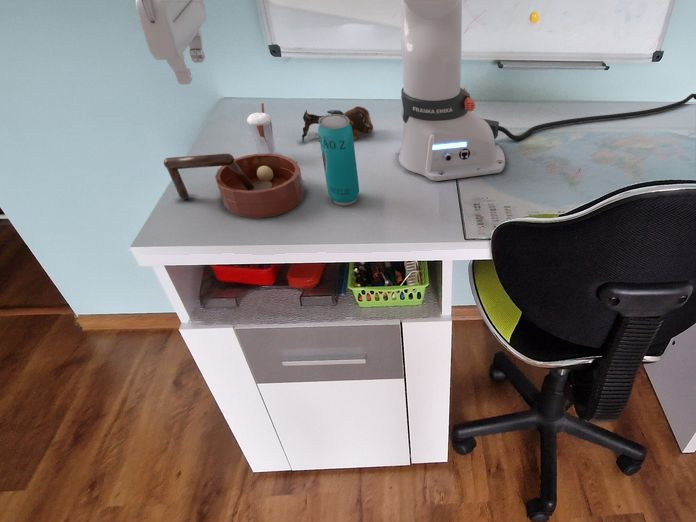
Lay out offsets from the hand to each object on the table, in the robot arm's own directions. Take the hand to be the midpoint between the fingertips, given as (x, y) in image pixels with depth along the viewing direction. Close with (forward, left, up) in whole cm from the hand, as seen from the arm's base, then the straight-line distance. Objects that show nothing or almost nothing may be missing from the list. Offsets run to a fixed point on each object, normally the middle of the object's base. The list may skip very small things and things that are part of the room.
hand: (193, 71), depth 85 cm
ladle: (+1, 0, -22) cm, 22 cm away
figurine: (-19, -26, -22) cm, 39 cm away
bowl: (-6, 0, -22) cm, 23 cm away
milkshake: (-5, -16, -22) cm, 28 cm away
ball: (-6, -5, -20) cm, 22 cm away
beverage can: (-21, +2, -22) cm, 31 cm away
